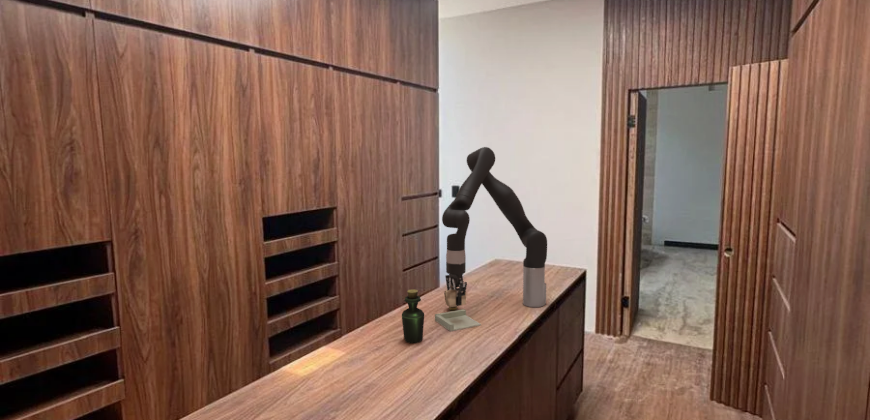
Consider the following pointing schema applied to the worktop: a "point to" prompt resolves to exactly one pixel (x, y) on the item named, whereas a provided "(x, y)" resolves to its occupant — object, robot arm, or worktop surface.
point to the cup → (450, 307)
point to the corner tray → (455, 320)
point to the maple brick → (453, 298)
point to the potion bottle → (413, 319)
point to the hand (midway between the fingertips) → (455, 303)
